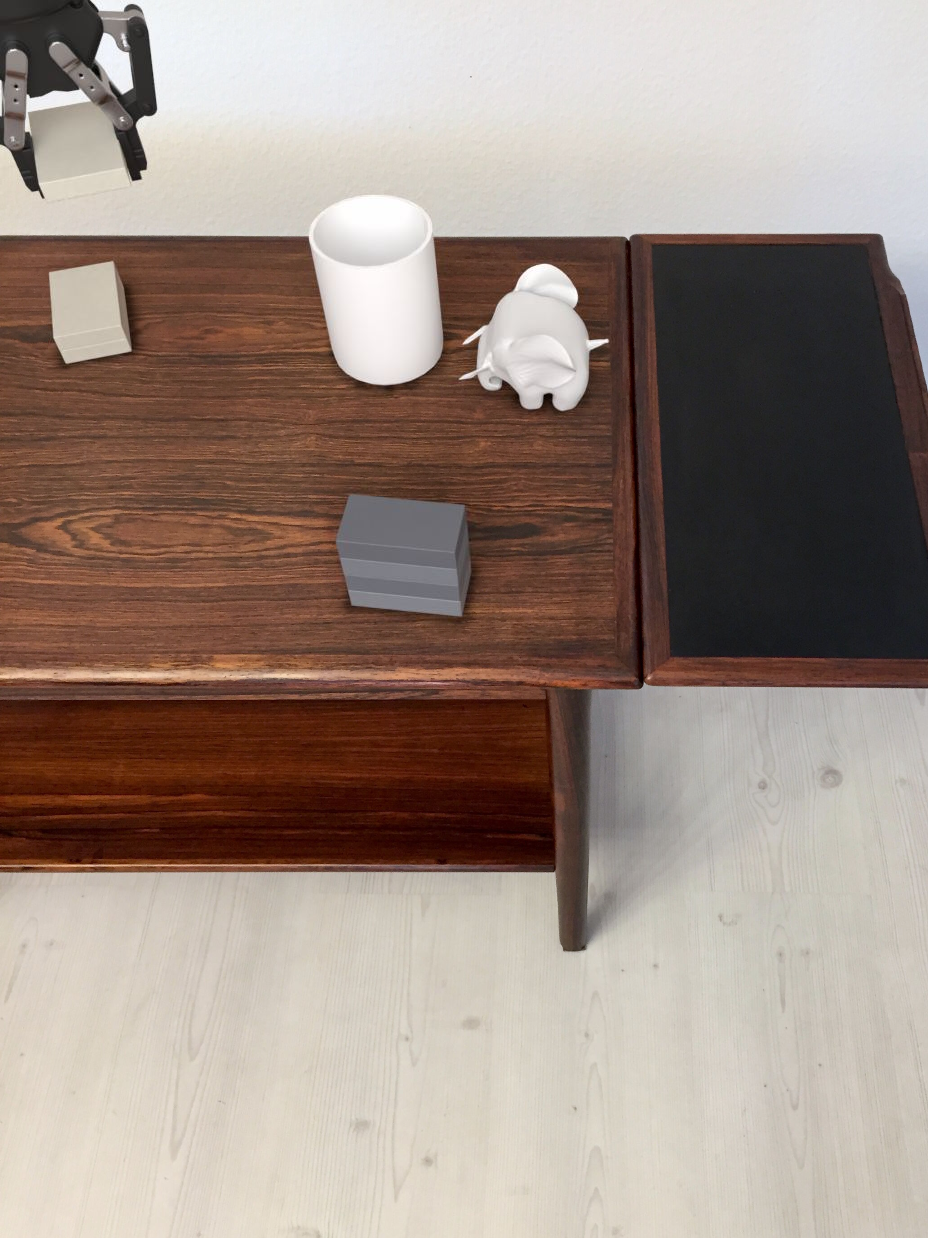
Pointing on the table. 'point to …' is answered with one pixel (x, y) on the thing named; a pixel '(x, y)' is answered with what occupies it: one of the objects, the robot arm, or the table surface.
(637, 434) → the table surface
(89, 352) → the cream rectangular box
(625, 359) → the table surface
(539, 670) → the table surface
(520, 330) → the elephant figurine
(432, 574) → the grey rectangular block
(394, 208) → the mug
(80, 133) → the off-white rectangular slab
